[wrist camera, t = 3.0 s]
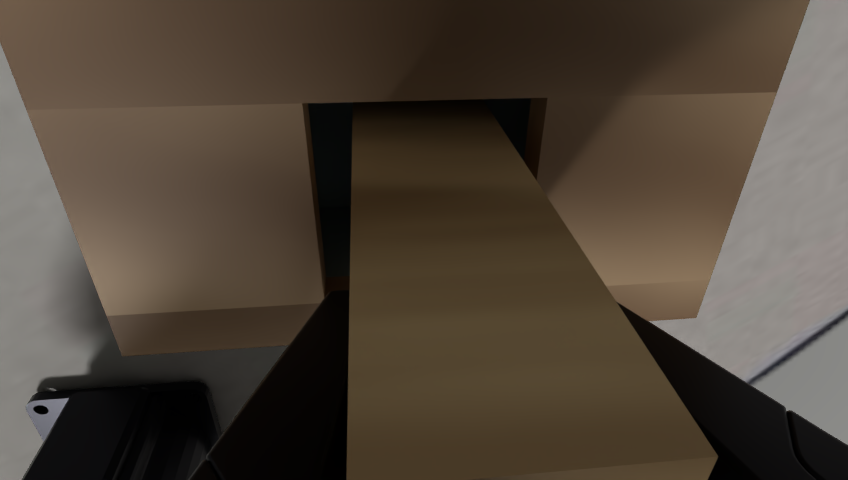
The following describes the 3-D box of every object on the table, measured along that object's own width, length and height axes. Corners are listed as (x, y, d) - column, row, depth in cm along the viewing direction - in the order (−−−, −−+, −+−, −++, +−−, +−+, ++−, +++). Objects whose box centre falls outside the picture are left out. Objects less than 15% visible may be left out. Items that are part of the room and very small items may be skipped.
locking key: (472, 204, 14) (636, 628, 6) (359, 209, 14) (365, 662, 6) (479, 93, 13) (718, 456, 4) (352, 96, 13) (346, 490, 4)
